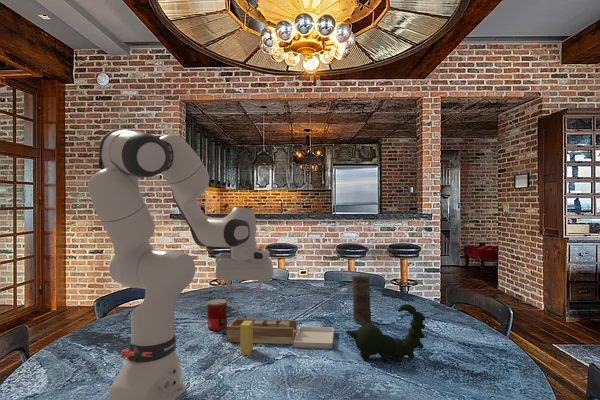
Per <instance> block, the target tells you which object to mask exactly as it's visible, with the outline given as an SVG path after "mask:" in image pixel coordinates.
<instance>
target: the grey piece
mask: <svg viewBox="0 0 600 400" xmlns="http://www.w3.org/2000/svg"><path fill="white" fill-rule="evenodd" d="M267 327H276V321H267Z"/></svg>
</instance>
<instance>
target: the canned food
mask: <svg viewBox="0 0 600 400" xmlns="http://www.w3.org/2000/svg"><path fill="white" fill-rule="evenodd" d="M227 304H228V302H227V300H226V299H223V298H214V299H213V298H212V299H210V300H208V301H207V307H206V308H207V329H208V330H210V331H213V332H214V331H215V332H217V331H223V330H225V329H227V326H228V313H227V312H228V305H227Z"/></svg>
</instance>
